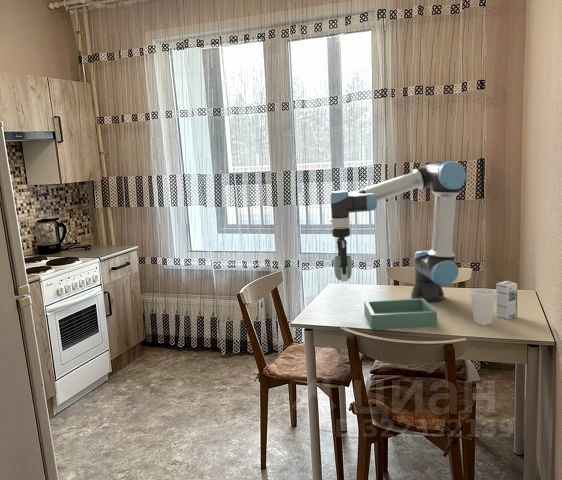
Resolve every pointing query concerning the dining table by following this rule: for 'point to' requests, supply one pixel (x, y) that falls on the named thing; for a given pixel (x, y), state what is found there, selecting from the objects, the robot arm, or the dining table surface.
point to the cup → (338, 269)
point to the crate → (400, 314)
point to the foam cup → (483, 305)
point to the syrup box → (506, 299)
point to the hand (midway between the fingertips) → (343, 278)
